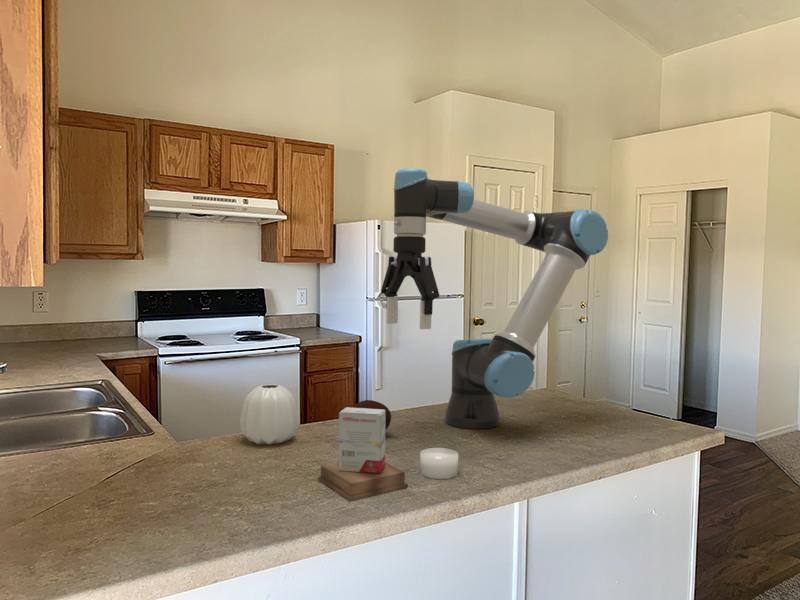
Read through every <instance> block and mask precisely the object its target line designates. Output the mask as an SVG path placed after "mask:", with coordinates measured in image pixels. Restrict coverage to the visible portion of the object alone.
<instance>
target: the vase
mask: <svg viewBox="0 0 800 600" xmlns="http://www.w3.org/2000/svg"><path fill="white" fill-rule="evenodd" d="M240 412H241V413H240V420H239V428H240V432H241V433H242V435H243V436H244V437H245V438H246V439H247V440H248V441H249V442H250V443H255V444H257V445H273V444H282V443H283V442H287V441H289V440H291V439H292V437H294V436H295V435H296V433H297V432H298V430H299V426H300V416H299V410H298V406H297V402H296V399H295V397H294V395H293V393H292V392H291V391H290V390H289V389H287V388H286V387H284V386H282V385H280V384H276V383H275V384H274V383H266V384H261V385H258V386H257V387H255V388H253V389H252V390H251V391H250V392H249V393H248V394H247V395H246V396H245V399H244V401H243V403H242V407H241V411H240Z"/></svg>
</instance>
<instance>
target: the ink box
mask: <svg viewBox="0 0 800 600" xmlns="http://www.w3.org/2000/svg"><path fill="white" fill-rule="evenodd" d="M338 462H339V470H340V471H351V472H365V473H378V474H380V473H382V471H383V470H384V468H385V462H386V431H385V410H384V409H367V408H352V407H349V406H347V407H344V408H343V409H342V410H340V412H339V413H338Z"/></svg>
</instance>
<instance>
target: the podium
mask: <svg viewBox="0 0 800 600" xmlns="http://www.w3.org/2000/svg"><path fill="white" fill-rule="evenodd" d="M405 474H406V473H405V471H404V470H401V469H400V468H397V467H396V466H394V465H391V463H390V464H389V463H387V462H386V461H385V468H384V470H383V471H382V473H380V474H378V473H365V472H351V471H340V470H339V461H337V462H331V463H327V464H322V465H321V466H320V476H317V481H319V482H320V483H322V484H323V485H324V486H326V487H328V488H329V489H331V490H332V491H334V492H335V493H337V494H339V496H341V497H343V498H345V500H347V501H349V502H354V501H357V500H361V499H365V498H369V497H373V496H377V495H381V494H382V495H383V494H386V493H390V492H394V491H398V490H402V489H406V488H408V487H409V484H408V483H407V482H405Z"/></svg>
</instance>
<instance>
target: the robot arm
mask: <svg viewBox="0 0 800 600" xmlns="http://www.w3.org/2000/svg"><path fill="white" fill-rule="evenodd" d="M393 184H394V186H393V191H394V192H393V194H394V196H393V197H394V198H393V199H394V202H393V203H394V204H393V205H394V206H393V208H394V212H393V216H394V219H393V234H394V235H396V236H394V237H393V252H394V253H397V255H396V256H393V255H391V256H389V257H388V266H387V269H386V272H385V276H384V279H383V281H382V286H381V289H380V292H381V294H384V295H385V297H386V324H387V325H391V324H398V322H399V321H398V314H399V313H398V312H399V311H398V310H399V308H398V306H399V303H398V301H399V297H398V292H399V290H400V287H401V286H402V284H403V282H404V281H405V278H406V277H410V278H412V279H413V281H414V283H415V286H416V287H417V290H418V292H419V294H420V296H421V298H420V300H419V301H420V303H419V330H432V315H433V303H434V300H435V299H438V298H440V292H439V288H438V284H437V281H436V278H435V275H434V272H433V268H432V267H433V266H432V258H431V256H423V255H422V254H424V253H425V252H426V238H425V237H424V236H425V235H426V234H427V218H431V219H434V220H439V221H440V220H441V221H443V222H447V223H451V224H454V225H459V226H463V227H466V228H470V229H474V230H478V231H482V232H485V233H490V234H493V235H496V236H499V237H500V236H501V237H505V238H508V239H512V240H514V241H515V242H516V244H517V245H521V246H524V247H526V248H531V249H534V250H536V251H540V252H544V253H545V256H544V258H543V260H542V262H541V264H540V265H539V266H538V269H537V270H536V273H535V274H534V276H533V277H532V280H531V281H530V283H529V285H528V287H527V288H526V291H525V293H524V294H523V296H522V298H521V300H520V301H519V303H518V305H517V306H516V309H515V310H514V312H513V314H512V316H511V317H510V320H509V321H508V323H507V325H506V326H505V328H504V330H503V332H499V333H496V334H494V335H493V338H478V339H477V338H476V339H475V338H474V339H471V338H470V339H457V340H454V342H453V345H452V352H451V393H450V394H451V395H450V397H449V401H448V404H447V406H446V407H447V408H446V410H445V411H444V423H446V424H448V425H451V426H453V427H457V428H463V429H474V430H475V429H476V430H477V429H478V430H479V429H490V428H494V427H497V426H499V425H500V424H501V420H500V419H501V416H500V414H501V413H500V412H499V409H498V405H497V402H496V397H495V396H497V397H503V398H515V397H518V396H521V395H522V394H524V393H525V392H526V391H527V390H528V389H529V388H530V387H531V385H532V383H533V381H534V378H535V371H534V369H535V366H534V363H533V362H534V360H535V358H536V353H535V350H534V348H535V346H536V344H537V342H538V340H539V339H540V336H541V334H542V333H543V332H544V330H545V327H546V325H547V323H549V320H550V318H551V316H552V314H553V313H554V310H555V309H556V307H557V305H558V304H559V302H560V300H561V298H562V296H563V294H564V292H565V291H566V289H567V286H568V284H569V283H570V281H571V279H572V277H573V276H574V274H575V272H576V271H577V270H581V269H584V268H585V266H586V264H587V262H588V261H589V258H590V257H591V256H594V255H598V254H600V253H601V252H602V251H603V250H604V249H605V247H606V246H607V243H608V237H609V229H607V223H606V221H605V219H604V218H603V216H602V215H601V214H600V213H599V212H597V211H595V210H593V209H584V208H583V209H581V208H579V209H576V210H570V211H568V210H567V211H557V212H555V211H554V212H545V213H543V212H533V211H530V210H526V211H523V212H520V211H517V210H512V209H509V208H507V207H506V208H505V207H502V206H498V205H495V204H491V203H488V202H484V201H480V200H478V199H474V197H475V193H474V189H473V187H472V185H471V184H470V183H468V182H464V181H463V182H462V181H459V180H457V181H455V180H436V179H429V178H428V173H427V171H426V169H421V168H416V167H415V168H413V167H412V168H410V167H408V168H406V167H405V168H401V169H398V170H397V171H396V172H395V175H394V183H393Z"/></svg>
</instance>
